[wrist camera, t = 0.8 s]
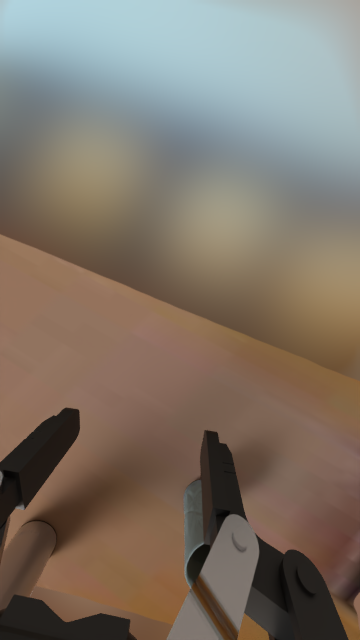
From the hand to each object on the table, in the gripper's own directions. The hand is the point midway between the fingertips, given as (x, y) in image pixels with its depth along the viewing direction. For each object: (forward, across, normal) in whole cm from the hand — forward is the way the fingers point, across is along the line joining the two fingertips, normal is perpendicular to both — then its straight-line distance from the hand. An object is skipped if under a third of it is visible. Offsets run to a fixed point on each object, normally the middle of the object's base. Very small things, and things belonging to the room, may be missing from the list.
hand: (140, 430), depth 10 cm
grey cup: (+22, +11, -41) cm, 48 cm away
